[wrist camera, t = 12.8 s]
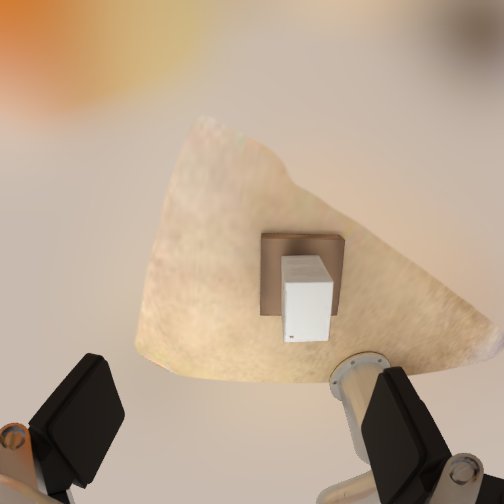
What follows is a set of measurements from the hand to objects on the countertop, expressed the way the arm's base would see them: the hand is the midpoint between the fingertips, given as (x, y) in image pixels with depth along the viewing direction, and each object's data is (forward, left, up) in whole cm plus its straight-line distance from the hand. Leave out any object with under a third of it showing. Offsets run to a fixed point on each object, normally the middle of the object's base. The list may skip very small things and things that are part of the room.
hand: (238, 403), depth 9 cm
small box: (-6, +8, -33) cm, 35 cm away
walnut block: (-6, +8, -37) cm, 38 cm away
